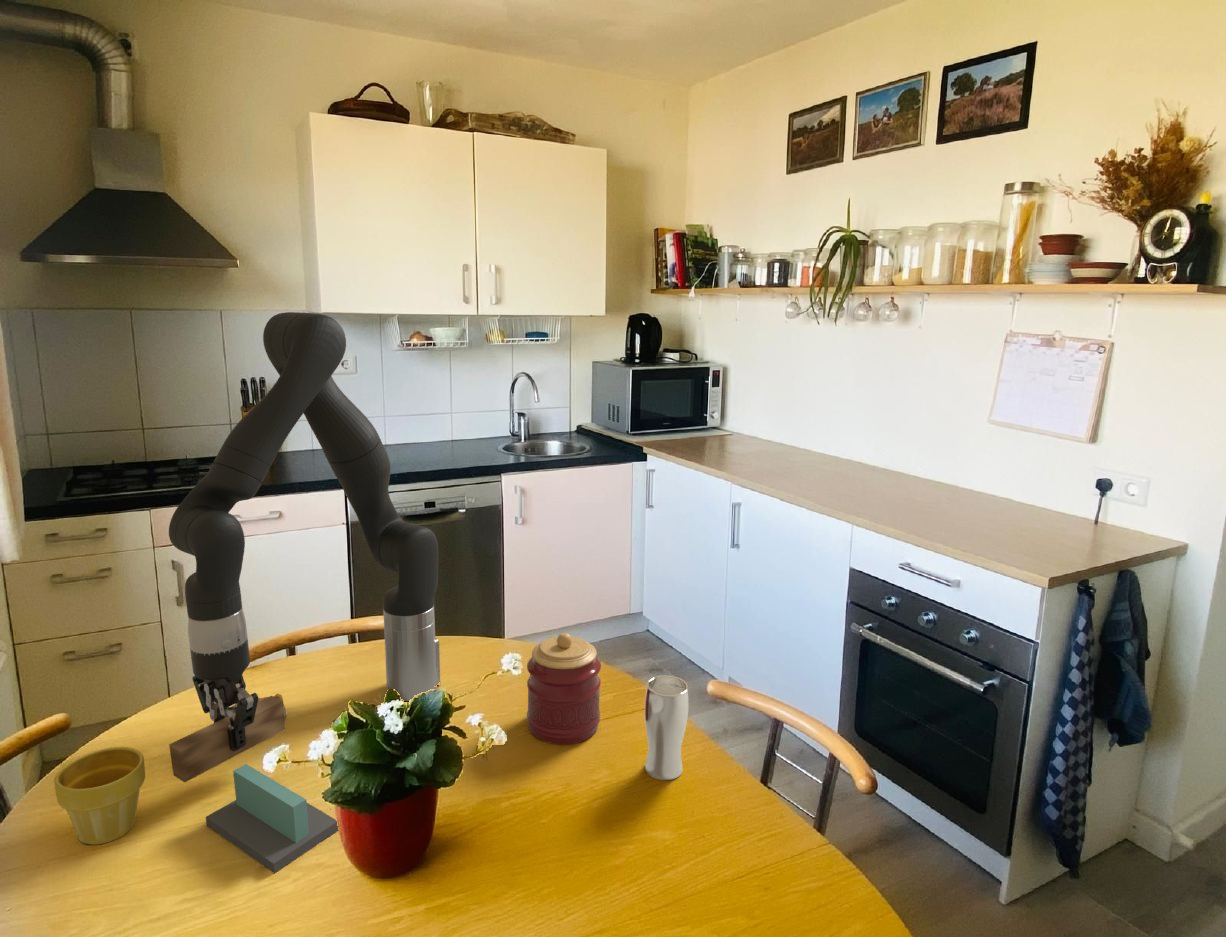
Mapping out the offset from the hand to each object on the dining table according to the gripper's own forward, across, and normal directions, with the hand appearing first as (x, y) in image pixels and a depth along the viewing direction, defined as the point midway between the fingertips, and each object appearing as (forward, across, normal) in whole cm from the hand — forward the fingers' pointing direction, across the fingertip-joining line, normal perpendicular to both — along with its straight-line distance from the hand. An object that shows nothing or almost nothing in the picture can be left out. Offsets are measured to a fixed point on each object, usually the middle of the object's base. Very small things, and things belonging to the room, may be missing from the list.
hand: (231, 743), depth 115 cm
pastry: (+8, +14, -13) cm, 21 cm away
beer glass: (+8, -52, -42) cm, 67 cm away
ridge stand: (+7, -13, +2) cm, 15 cm away
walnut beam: (+1, 0, 0) cm, 1 cm away
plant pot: (+7, +6, +16) cm, 18 cm away
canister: (+8, -31, -42) cm, 53 cm away
